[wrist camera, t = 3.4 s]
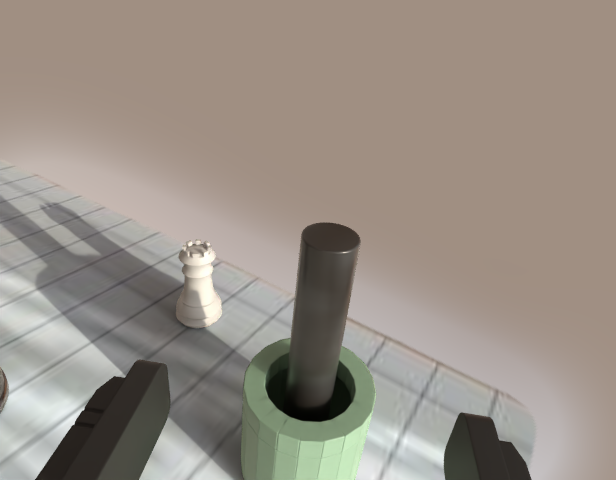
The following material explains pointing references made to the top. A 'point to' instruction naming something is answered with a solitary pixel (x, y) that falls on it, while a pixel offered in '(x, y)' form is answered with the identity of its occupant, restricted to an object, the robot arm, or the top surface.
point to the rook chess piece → (198, 287)
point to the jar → (303, 422)
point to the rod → (319, 318)
